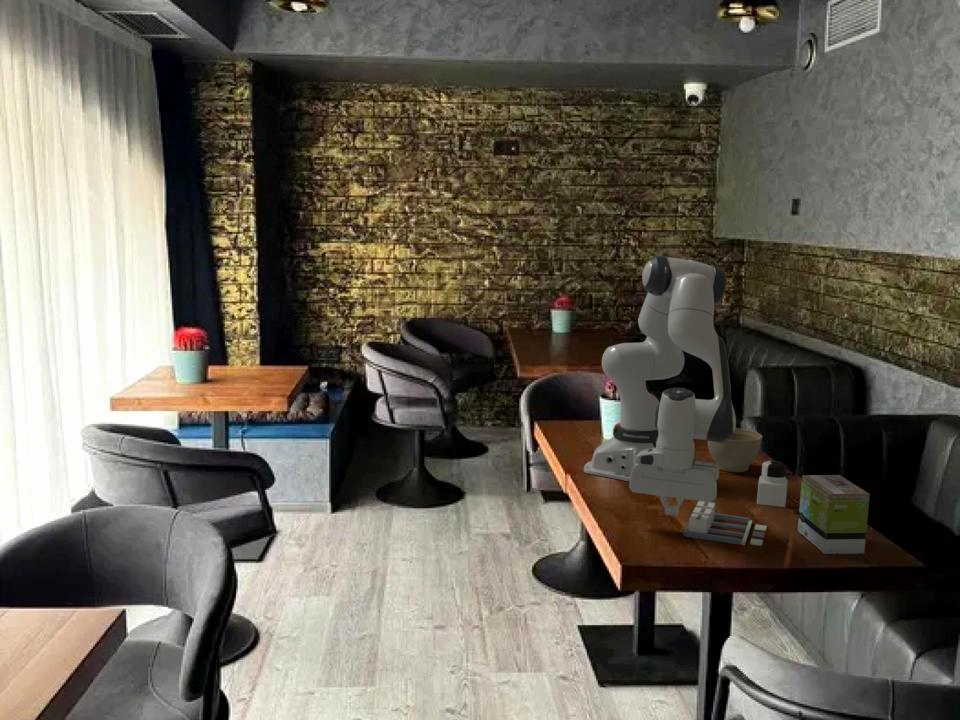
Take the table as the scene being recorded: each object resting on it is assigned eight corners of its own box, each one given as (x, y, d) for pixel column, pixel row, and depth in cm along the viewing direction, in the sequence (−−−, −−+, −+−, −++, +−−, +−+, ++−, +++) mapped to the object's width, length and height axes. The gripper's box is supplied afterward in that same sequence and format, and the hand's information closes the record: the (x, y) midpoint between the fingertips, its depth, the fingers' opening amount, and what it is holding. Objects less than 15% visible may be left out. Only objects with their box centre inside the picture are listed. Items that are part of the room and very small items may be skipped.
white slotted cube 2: (691, 527, 221) (692, 511, 220) (694, 522, 224) (695, 506, 224) (708, 530, 219) (709, 513, 218) (711, 525, 223) (712, 508, 222)
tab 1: (695, 521, 226) (696, 504, 225) (697, 516, 229) (698, 500, 229) (711, 523, 224) (713, 507, 223) (714, 518, 228) (715, 502, 227)
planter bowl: (699, 460, 288) (702, 426, 286) (751, 462, 288) (754, 428, 286) (710, 474, 272) (713, 439, 270) (765, 477, 272) (768, 441, 270)
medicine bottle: (785, 504, 246) (789, 460, 244) (784, 512, 239) (788, 467, 237) (757, 500, 248) (761, 457, 246) (756, 508, 241) (759, 464, 239)
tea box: (795, 532, 224) (800, 473, 222) (835, 532, 225) (840, 473, 222) (823, 555, 209) (829, 492, 207) (865, 554, 210) (872, 492, 208)
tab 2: (688, 534, 215) (689, 517, 215) (690, 529, 219) (691, 512, 218) (705, 537, 214) (706, 520, 213) (707, 532, 218) (709, 515, 217)
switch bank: (662, 538, 216) (663, 528, 216) (676, 516, 233) (676, 507, 232) (764, 554, 208) (765, 544, 208) (770, 530, 225) (771, 520, 224)
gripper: (721, 460, 215) (717, 516, 217) (634, 450, 223) (632, 505, 225) (718, 466, 210) (714, 524, 212) (629, 455, 217) (626, 512, 219)
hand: (671, 514), depth 218 cm, fingers closed
